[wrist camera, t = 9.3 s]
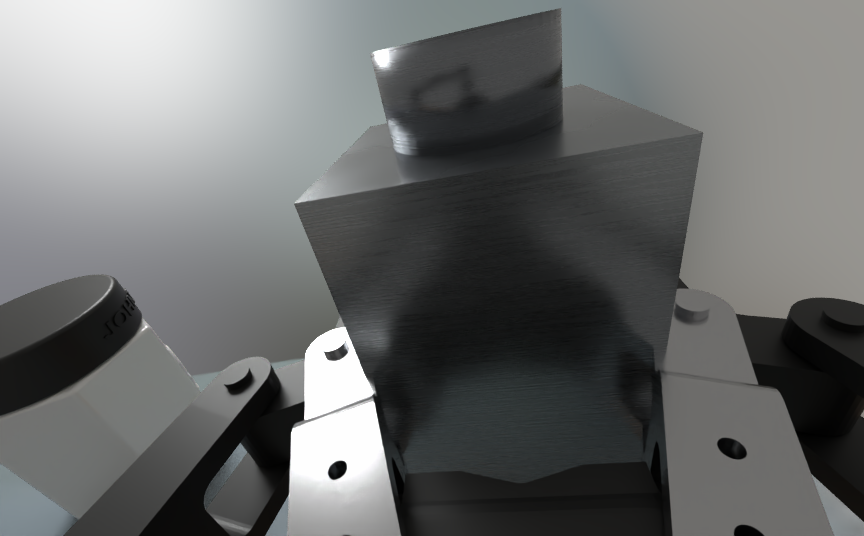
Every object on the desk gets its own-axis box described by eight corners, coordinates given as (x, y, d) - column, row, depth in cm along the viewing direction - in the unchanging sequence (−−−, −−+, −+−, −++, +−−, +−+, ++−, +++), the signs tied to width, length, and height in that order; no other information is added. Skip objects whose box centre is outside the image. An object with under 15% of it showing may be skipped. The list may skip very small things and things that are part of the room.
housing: (431, 578, 10) (204, 88, 4) (440, 407, 15) (342, 60, 9) (647, 577, 9) (793, -50, 3) (585, 396, 14) (592, 2, 8)
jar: (245, 443, 24) (135, 296, 18) (102, 563, 20) (-114, 422, 13) (196, 386, 30) (99, 259, 24) (75, 469, 25) (-86, 338, 19)
